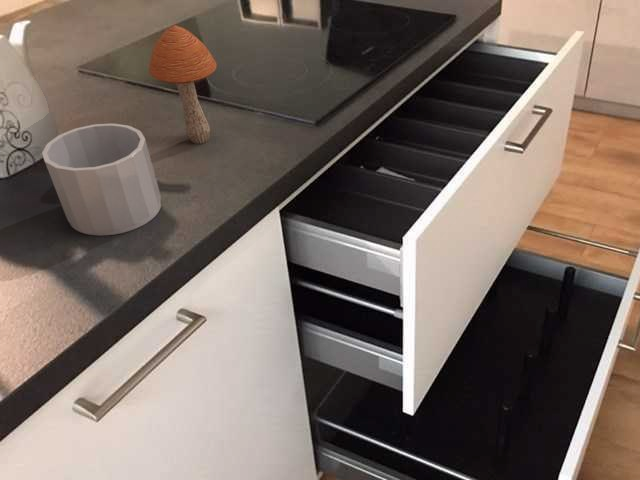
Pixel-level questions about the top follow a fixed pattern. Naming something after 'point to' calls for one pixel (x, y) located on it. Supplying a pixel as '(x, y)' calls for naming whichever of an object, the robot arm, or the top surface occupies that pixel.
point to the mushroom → (184, 74)
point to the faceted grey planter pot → (103, 178)
